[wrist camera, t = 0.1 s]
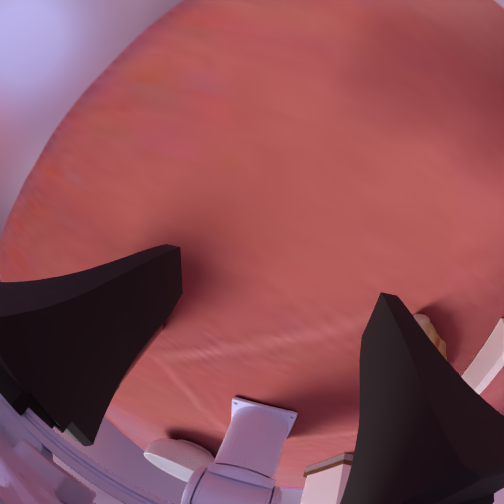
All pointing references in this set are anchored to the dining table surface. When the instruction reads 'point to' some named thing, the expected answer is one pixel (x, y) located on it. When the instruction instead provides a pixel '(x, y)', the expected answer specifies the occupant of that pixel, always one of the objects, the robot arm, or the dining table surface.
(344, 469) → the display case
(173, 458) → the cereal bowl
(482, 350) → the white rectangular bar
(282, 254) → the dining table surface
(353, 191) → the dining table surface
